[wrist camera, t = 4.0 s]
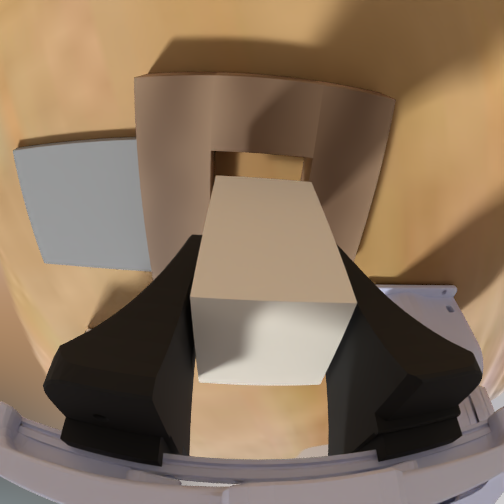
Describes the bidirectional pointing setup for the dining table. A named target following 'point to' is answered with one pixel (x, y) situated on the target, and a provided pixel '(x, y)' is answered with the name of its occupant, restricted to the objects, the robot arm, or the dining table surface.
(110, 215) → the mat
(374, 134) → the pocket block
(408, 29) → the dining table surface
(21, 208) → the dining table surface
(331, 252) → the peg
